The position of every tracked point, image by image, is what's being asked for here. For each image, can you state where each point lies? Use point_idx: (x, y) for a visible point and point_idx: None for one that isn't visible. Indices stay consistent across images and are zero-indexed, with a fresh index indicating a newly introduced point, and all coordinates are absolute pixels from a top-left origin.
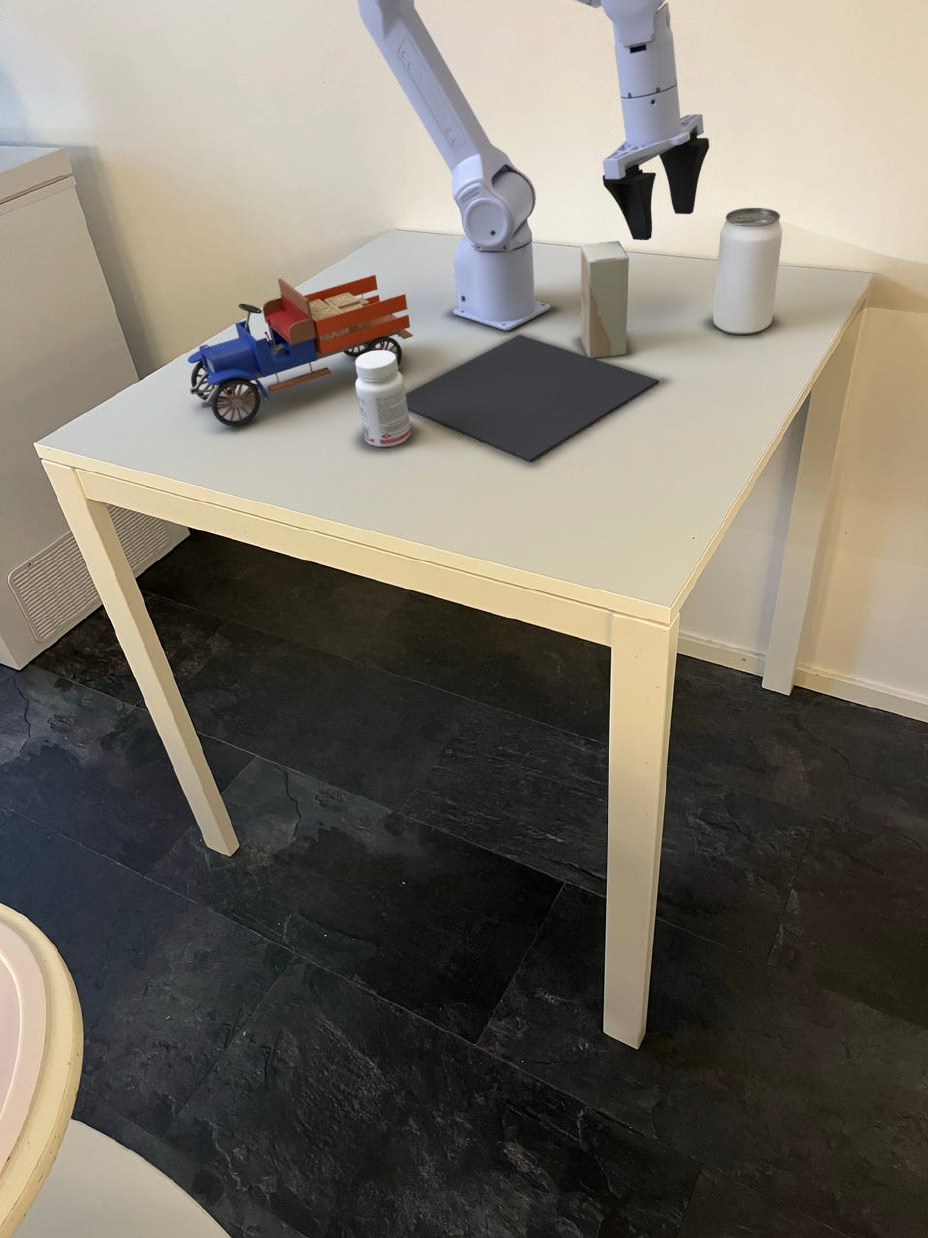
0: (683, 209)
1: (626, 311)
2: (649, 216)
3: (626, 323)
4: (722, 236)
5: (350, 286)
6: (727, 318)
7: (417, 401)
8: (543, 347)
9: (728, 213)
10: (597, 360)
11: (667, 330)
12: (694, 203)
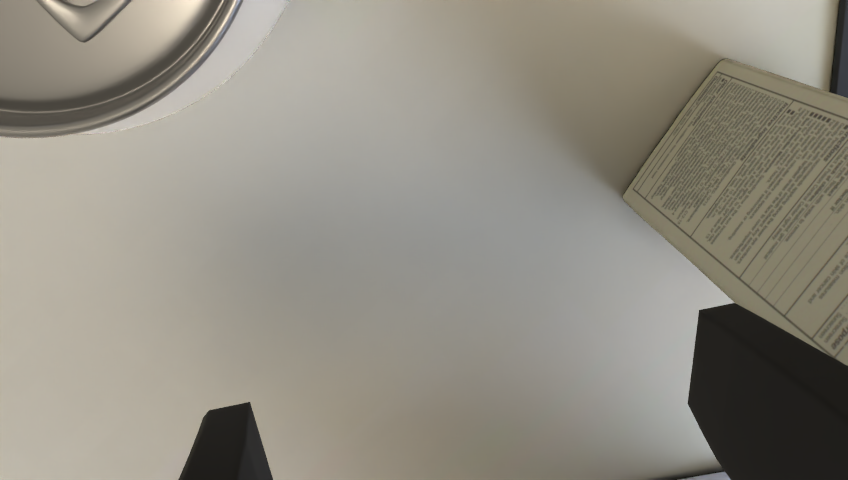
0: (262, 464)
1: (832, 93)
2: (834, 382)
3: (792, 83)
4: (283, 4)
5: None
6: None
7: None
8: None
9: (113, 112)
10: (842, 83)
11: (457, 95)
12: (198, 444)
